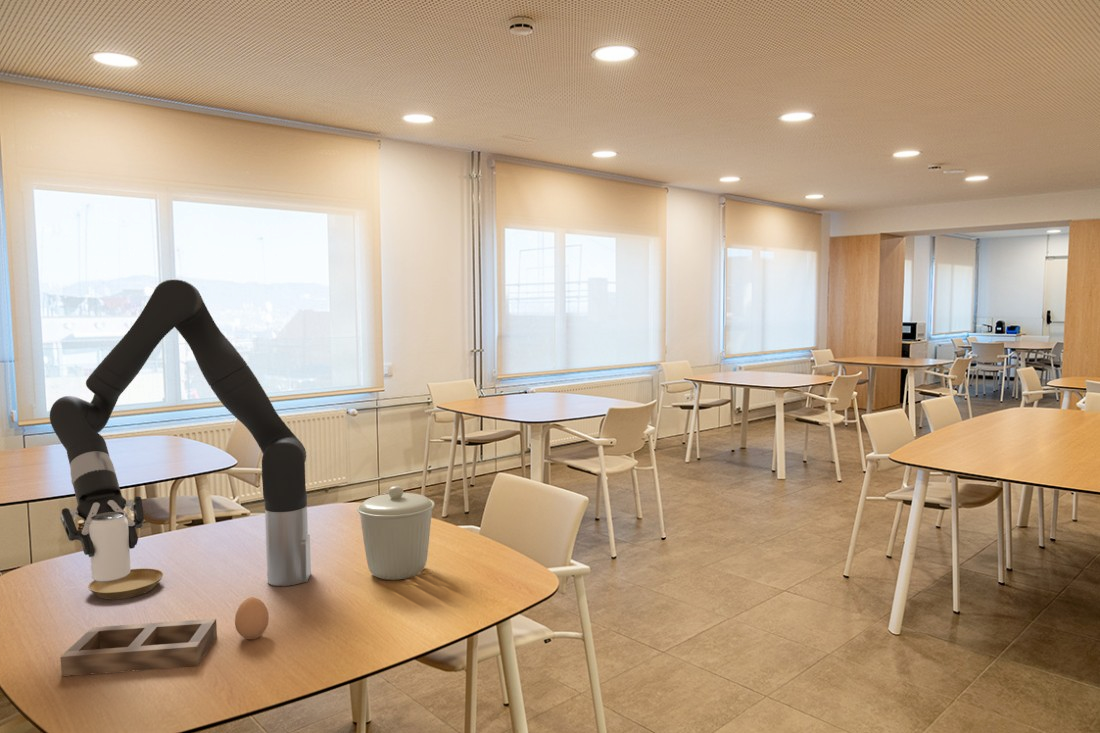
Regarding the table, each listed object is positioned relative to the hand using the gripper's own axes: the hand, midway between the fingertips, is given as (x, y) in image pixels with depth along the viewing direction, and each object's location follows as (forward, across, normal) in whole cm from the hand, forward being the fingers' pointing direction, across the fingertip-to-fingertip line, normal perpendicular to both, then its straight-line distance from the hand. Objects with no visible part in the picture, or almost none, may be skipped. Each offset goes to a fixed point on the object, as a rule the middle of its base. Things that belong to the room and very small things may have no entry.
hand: (112, 550), depth 140 cm
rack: (+21, +1, +3) cm, 21 cm away
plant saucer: (-6, +8, +31) cm, 32 cm away
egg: (+26, +18, -1) cm, 32 cm away
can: (+3, 0, +5) cm, 6 cm away
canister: (+18, +57, +7) cm, 61 cm away
